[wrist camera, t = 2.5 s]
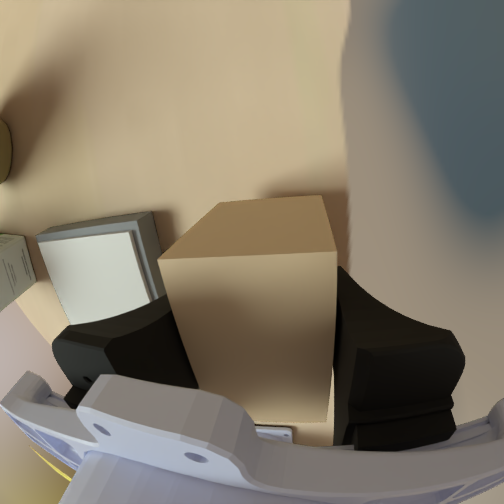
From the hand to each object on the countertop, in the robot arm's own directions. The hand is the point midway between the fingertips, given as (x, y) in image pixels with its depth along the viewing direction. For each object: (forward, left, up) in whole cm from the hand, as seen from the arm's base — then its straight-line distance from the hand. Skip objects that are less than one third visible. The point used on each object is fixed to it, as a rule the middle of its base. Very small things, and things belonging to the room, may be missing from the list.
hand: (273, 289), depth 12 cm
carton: (0, 0, -2) cm, 2 cm away
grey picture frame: (-4, +12, -4) cm, 13 cm away
